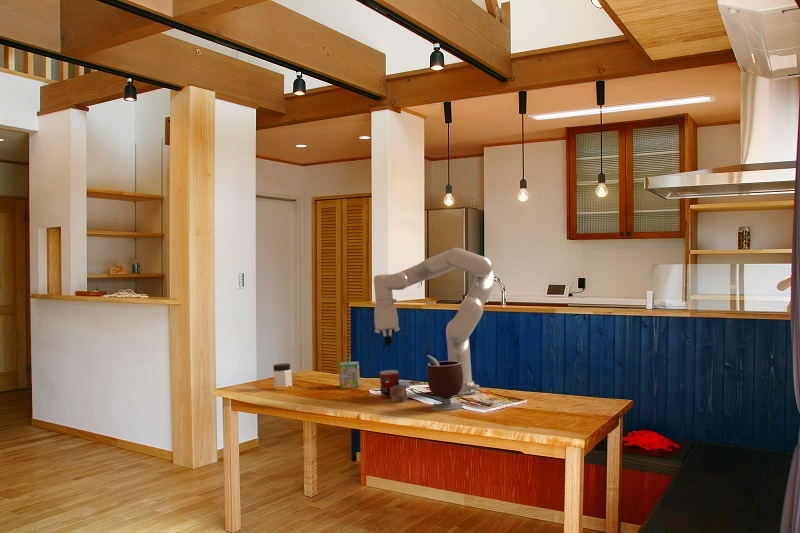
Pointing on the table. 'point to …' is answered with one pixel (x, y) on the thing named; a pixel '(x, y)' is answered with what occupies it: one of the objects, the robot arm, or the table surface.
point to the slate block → (404, 383)
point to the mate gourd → (445, 382)
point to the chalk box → (349, 374)
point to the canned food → (388, 382)
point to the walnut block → (398, 393)
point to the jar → (282, 375)
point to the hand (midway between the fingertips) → (388, 345)
